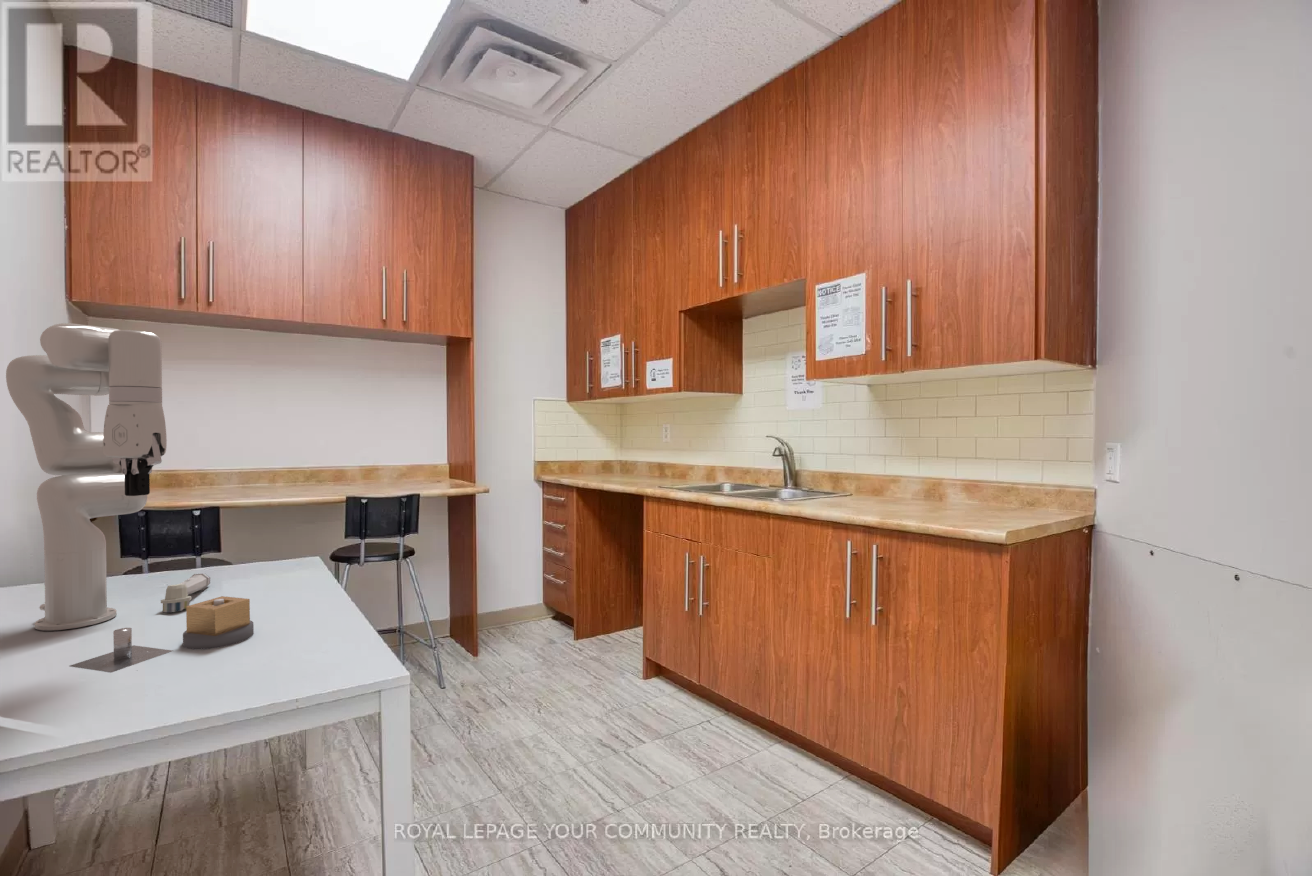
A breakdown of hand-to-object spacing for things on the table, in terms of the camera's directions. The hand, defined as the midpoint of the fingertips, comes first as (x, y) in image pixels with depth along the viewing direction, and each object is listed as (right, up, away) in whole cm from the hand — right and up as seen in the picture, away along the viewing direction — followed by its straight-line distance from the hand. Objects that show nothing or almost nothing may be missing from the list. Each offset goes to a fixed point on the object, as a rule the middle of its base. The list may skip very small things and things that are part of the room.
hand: (137, 494), depth 112 cm
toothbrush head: (-16, -29, +33) cm, 47 cm away
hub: (+13, -29, +3) cm, 32 cm away
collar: (+13, -26, +3) cm, 29 cm away
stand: (+3, -29, -7) cm, 30 cm away
